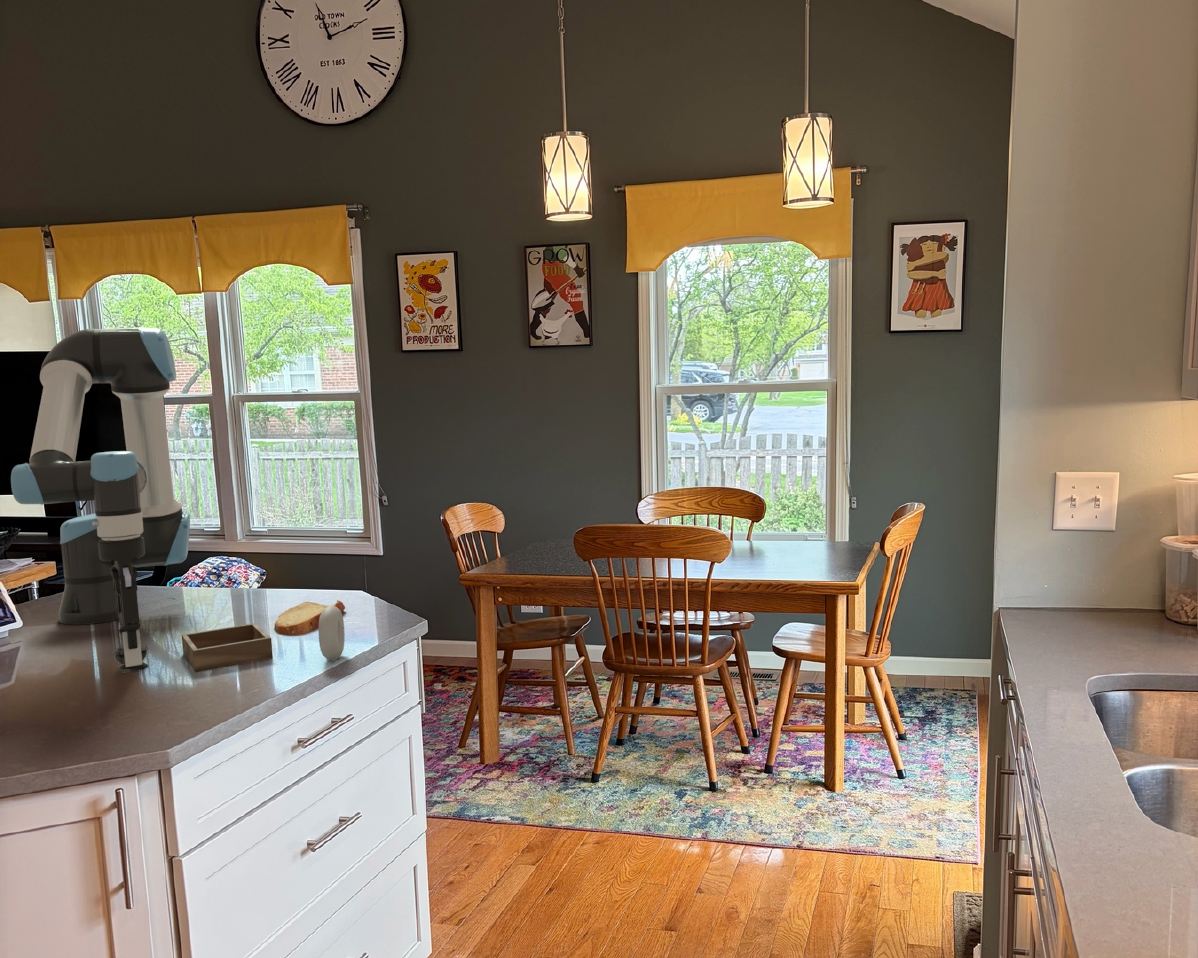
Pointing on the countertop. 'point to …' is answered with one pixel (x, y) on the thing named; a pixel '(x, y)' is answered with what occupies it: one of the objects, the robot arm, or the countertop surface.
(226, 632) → the box
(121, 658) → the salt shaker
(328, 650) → the donut
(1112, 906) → the countertop surface
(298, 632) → the slice of bread
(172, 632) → the countertop surface
